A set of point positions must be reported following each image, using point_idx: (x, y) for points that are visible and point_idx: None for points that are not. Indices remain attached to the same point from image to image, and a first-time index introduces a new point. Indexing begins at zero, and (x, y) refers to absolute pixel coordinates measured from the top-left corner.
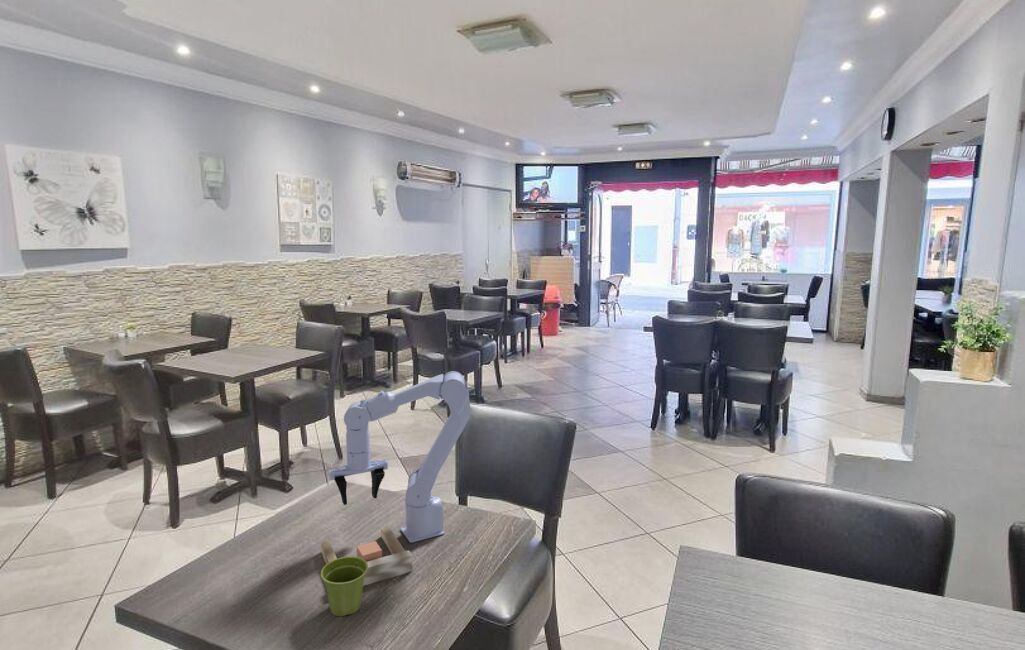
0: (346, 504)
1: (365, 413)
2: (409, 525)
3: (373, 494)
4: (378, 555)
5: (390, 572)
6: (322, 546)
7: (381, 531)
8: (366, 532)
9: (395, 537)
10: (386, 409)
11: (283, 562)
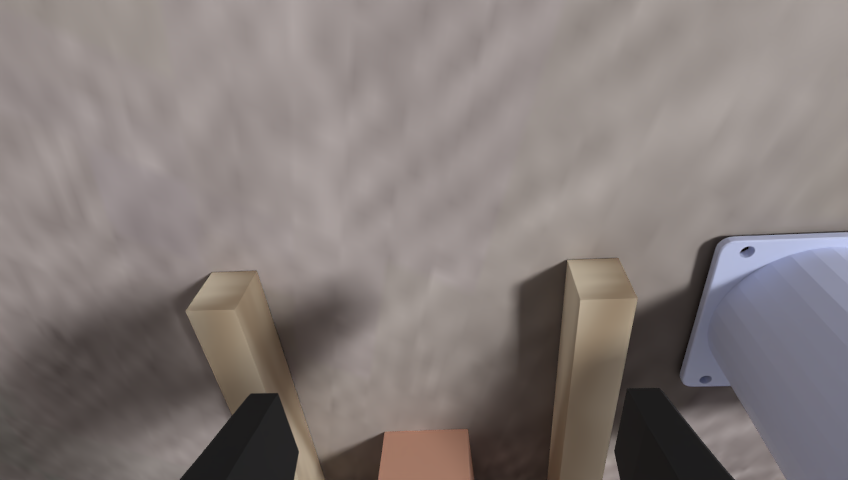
0: (295, 451)
1: None
2: (743, 405)
3: (630, 471)
4: None
5: None
6: (203, 347)
7: (574, 299)
8: (499, 173)
9: (611, 415)
10: None
11: (29, 283)
